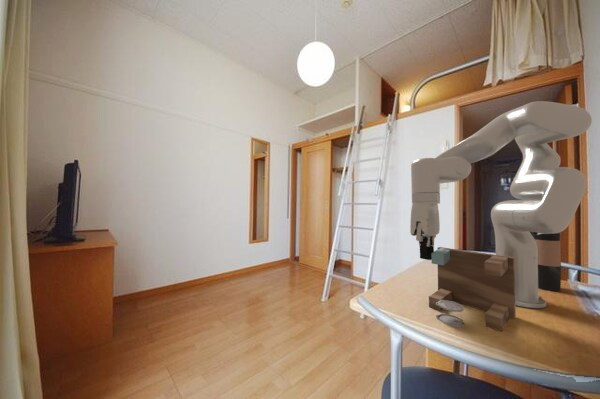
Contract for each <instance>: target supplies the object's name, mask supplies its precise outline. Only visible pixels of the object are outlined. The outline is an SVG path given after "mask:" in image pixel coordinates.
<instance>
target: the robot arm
mask: <svg viewBox="0 0 600 399" xmlns="http://www.w3.org/2000/svg"><path fill="white" fill-rule="evenodd" d="M592 122H593V120H592V116H591V114H590V112H589V111H588V110H586V109H585V108H582V107H581V106H578V105H572V104H566V103H560V102H555V101H546V100H545V101H543V100H539V101H538V100H537V101H531V102H528V103H526V104H523V105H521V106H519V107H516V108H513V109H510V110H508V111H506V112H504V113H502V114H500V115H499V116H496V118H494V119H493V120H491V121H490V122H488V123H487V124H486V125H484V126H483V127H481V128H480V129H479V130H478V131H476V132H475V133H473V134H472V135H470V136H469V137H467V138H465V139H462V141H460V142H458V143H457V144H455V145H454V146H452V147H450V148H449V149H446V150H445V151H444V152H442V153H440V154H439V155H437V156H436V157H426V158H425V157H424V158H418V159H415V160H413V161H412V162H411V165H410V167H411V168H410V172H411V174H410V177H411V179H410V180H411V209H410V210H411V212H410V229H409V231H410V235H411V236H415V240H416V241H417V242H418V245H419V258H420V259H422V260H427V261H432V256H431V253H433V252H434V251H435V239H436V238H437V235H438V234H440V224H441V223H440V212H439V204H441V194H440V193H441V188H440V187H441V186H440V184H446V183H450V184H451V183H455V182H459V181H463V180H464V179H466V178H468V177H469V175H470V174H471V172H472V165H471V164H473V163H477V162H479V161H481V160H485V159H487V158H489V157H491V156H493V155H495V154H496V153H497V152H498V151H500V150H501V149H502V148H504V147H505V146H507V145H508V144H509V143H511V142H512V141H513V140H515V143H516V144H517V146H518V148H519V150H520V152H521V153H522V161H521V163H520V165H519V168H518V170H517V172H516V174H515V176H514V177H513V180H512V182H511V184H510V187H509V193H510V194H511V196H512V197H513V198H515V199H514V200H513V199H511V200H503V201H500V202H498V203H496V204H495V205H494V206H492V208H491V211H490V218H491V219H490V220H491V223H492V227H493V230H494V239H495V255H501V256H508V257H514V263H515V306H518V307H522V308H527V309H528V308H530V309H544V308H546V307H547V301H546V300H545V299H543V298H541V297H540V296H539V288H538V254H537V253H538V249H537V244H536V241H535V239H534V238H533V236H532V235H531V233H530V232H537V233H548V234H554V233H559V234H560V233H561V232H563V231H564V230H566V229H567V228H568V226H570V223H571V222H572V220H573V218H574V216H575V214H576V212H577V211H578V208H579V207H580V206H579V205H580V203H581V201H582V199H583V198H584V195H585V193H586V189H587V181H586V177H585V175H584V174H583V172H582V171H580V170H579V169H577V168H574V167H568V166H560V165H561V156H560V155H559V153H557V151H555V150H554V149H553V148H552V147H551V146H550V144H549V143H553V142H557V141H561V140H566V139H567V140H568V139H571V138H574V137H578V136H580V135H583V133H586V132H587V131H588V130H589V128H590V127H591V125H592Z"/></svg>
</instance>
